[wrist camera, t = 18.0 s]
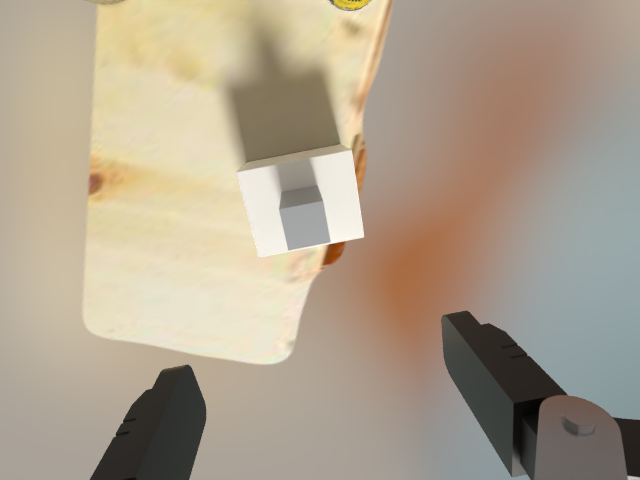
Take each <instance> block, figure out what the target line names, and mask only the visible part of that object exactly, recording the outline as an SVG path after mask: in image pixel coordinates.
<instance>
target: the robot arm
mask: <svg viewBox="0 0 640 480" xmlns="http://www.w3.org/2000/svg"><path fill="white" fill-rule="evenodd" d="M86 1H89V2H92V3H98V4H115V3H118V2H121V1H124V0H86ZM441 323H442V337H443V352H444V360H445V364H446V367H447V369H448V372H449V374H450V376H451V378H452V380H453V381H454V383H455V384H456V386H457V388H458V389H459V391H460V393H461V394H462V396H463V398H464V399H465V401H466V403H467V404H468V406H469V407H470V409H471V411H472V412H473V414H474V416H475V417H476V419H477V421H478V422H479V424H480V426H481V427H482V429H483V431H484V432H485V434H486V435H487V437H488V439H489V440H490V442H491V444H492V445H493V447H494V449H495V450H496V452H497V453H498V455H499V457H500V458H501V460H502V462H503V463H504V465H505V467H506V468H507V470H508V472H509V473H510V475H511V477H516V476H521V475H526V474H527V475H528V476H529V477H530V479H531V480H640V420H632V419H621V418H614V417H612V416H611V415H610V414H609V413H608V412H606V411H605V410H604V409H602V408H601V407H599V406H598V405H596V404H594V403H592V402H590V401H587V400H585V399H582V398H579V397H575V396H568V395H567V394H566V393H565V392H564V391H563V389H562V388H560V386H559V385H558V384H557V383H555V381H554V380H553V379H551V377H550V376H549V375H548V374H546V373H545V371H544V370H543V369H542V368H541V367H540V366H539V365H538V364H537V363H536V362H535V361H534V360H533V359H532V358H531V357H530V356H527V353H526V352H525V351H524V350H523V349H522V348H521V347H520V346H518V345H517V343H516V342H515V341H514V340H513V339H512V338H511V337H510V336H509V335H508V334H507V333H506V332H505V331H502V330H501V329H499V328H497V327H495V326H493V325H491V324H489V323H488V324H483V325H481V324H479V322H478V321H477V320H476V319H475V318H474V317H473V316H472V315H471V314H470V312H468V311H462V312H457V313H451V314H447V315H443V316H442V319H441ZM205 422H206V405H205V401H204V399H203V396H202V393H201V391H200V388H199V386H198V383H197V381H196V378H195V375H194V372H193V370H192V368H191V367H190V366H189V365H183V366H178V367H173V368H168V369H164V370H162V371H161V372H160V374H159V376H158V378H157V380H156V382H155V384H154V386H153V388H152V389H149V390H146V391H145V392H144V393H143V394H142V395H141V396H140V397H139V398H138V399H137V400H136V401H135V402H134V403H133V404H132V406H131V408H130V409H129V411H128V413H127V415H126V416H125V418H124V420H123V424H121V425H120V427H119V429H118V431H117V432H116V437H114V438H113V440H112V441H111V443H110V445H109V447H108V448H107V450H106V452H105V454H104V456H103V458H102V459H101V461H100V463H99V465H98V466H97V468H96V470H95V471H94V473H93V475H92V477H91V479H90V480H189V478H190V475H191V471H192V468H193V464H194V461H195V457H196V454H197V451H198V447H199V444H200V440H201V437H202V433H203V430H204V426H205Z"/></svg>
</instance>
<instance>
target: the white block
mask: <svg viewBox="0 0 640 480" xmlns="http://www.w3.org/2000/svg"><path fill="white" fill-rule="evenodd" d="M236 174H237V177H238V181H239V185H240V189H241V193H242V196H243V200H244V204H245V208H246V212H247V215H248V219H249V223H250V227H251V231H252V234H253V238H254V242H255V246H256V249H257V253H258V257H259V258H260V257H265V256H270V255H276V254H281V253H286V252H291V251H296V250H301V249H306V248H311V247H316V246H322V245H327V244H332V243H337V242H342V241H347V240H352V239H357V238H362V237H364V232H363V225H362V217H361V211H360V204H359V197H358V190H357V183H356V176H355V169H354V162H353V155H352V150H351V149H349V148H347V147H345V146H343V145H342V144H338V145H333V146H328V147H323V148H318V149H313V150H307V151H302V152H297V153H292V154H287V155H282V156H276V157H271V158H266V159H261V160H256V161H251V162H247V163H246V164H245V165H243V166H242V167H241V168H240V169H239V170H238V171H237V172H236Z"/></svg>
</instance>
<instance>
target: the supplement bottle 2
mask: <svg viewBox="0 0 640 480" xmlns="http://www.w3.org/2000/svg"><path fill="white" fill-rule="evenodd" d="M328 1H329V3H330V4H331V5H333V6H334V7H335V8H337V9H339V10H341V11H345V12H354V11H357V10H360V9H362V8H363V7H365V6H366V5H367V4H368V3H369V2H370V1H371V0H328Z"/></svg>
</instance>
